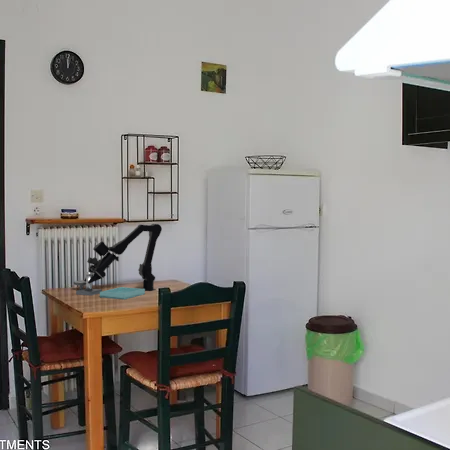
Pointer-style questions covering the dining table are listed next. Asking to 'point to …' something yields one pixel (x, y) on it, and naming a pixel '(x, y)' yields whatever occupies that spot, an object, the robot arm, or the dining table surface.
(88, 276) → the pin
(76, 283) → the silver round knob
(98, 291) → the pin collar
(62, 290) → the dining table surface
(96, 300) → the dining table surface
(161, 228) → the robot arm
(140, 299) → the dining table surface
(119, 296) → the tray
